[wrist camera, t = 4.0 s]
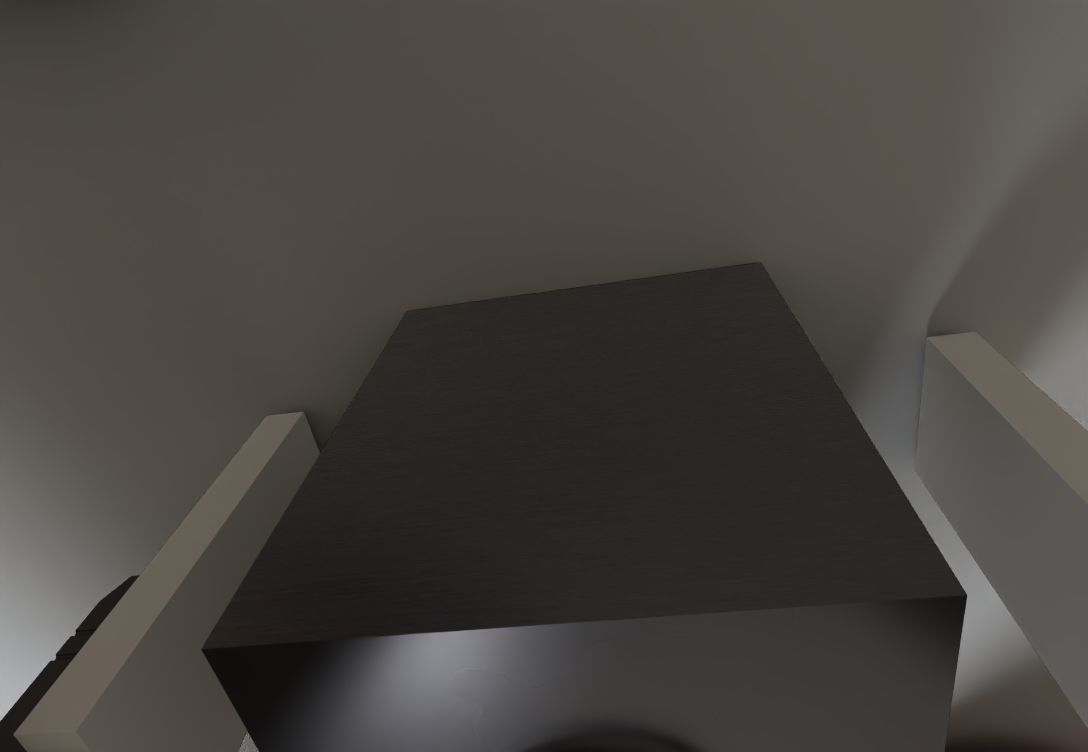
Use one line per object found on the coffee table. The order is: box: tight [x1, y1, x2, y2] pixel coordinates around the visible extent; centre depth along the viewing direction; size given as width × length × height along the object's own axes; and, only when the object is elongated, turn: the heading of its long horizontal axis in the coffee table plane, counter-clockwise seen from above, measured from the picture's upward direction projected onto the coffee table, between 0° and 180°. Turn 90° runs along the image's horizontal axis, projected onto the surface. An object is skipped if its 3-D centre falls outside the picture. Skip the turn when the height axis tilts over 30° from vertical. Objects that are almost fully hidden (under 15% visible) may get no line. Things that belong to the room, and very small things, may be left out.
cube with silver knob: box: [201, 262, 967, 752], centre depth 10 cm, size 6×6×8 cm
